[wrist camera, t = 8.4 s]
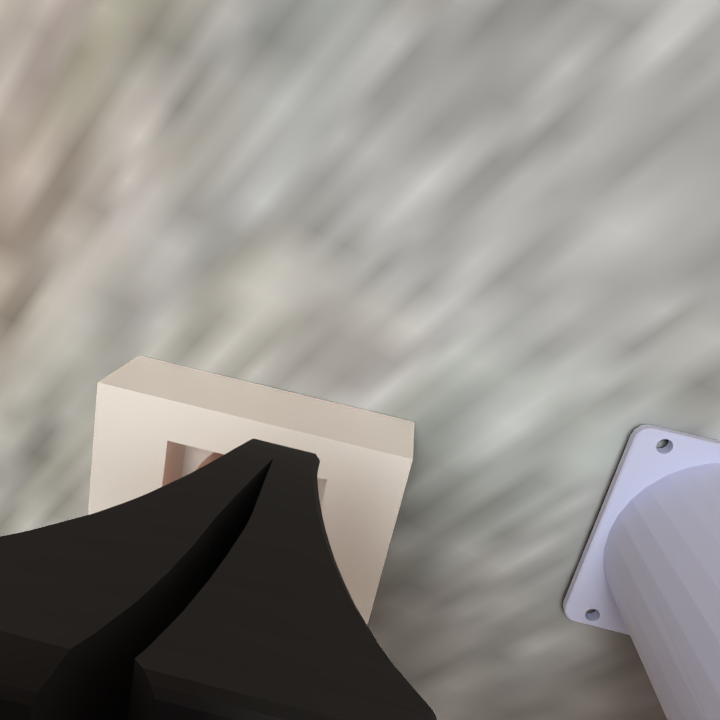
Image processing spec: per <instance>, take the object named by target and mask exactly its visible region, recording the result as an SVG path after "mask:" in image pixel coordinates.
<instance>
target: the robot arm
mask: <svg viewBox="0 0 720 720" xmlns="http://www.w3.org/2000/svg"><path fill="white" fill-rule="evenodd" d="M663 439H668V444H667V445H666V446H665V447H663V448H656V444H657V443H658V442H659V441H660V440H663ZM319 464H320V460H319V458H318V457H317V455H316V454H315V453H311V452H307V451H303V450H299V449H294V448H290V447H286V446H282V445H278V444H274V443H270V442H266V441H262V440H258V439H254V438H253V439H251V440H249V441H247V442H246V443H244V444H242V445H240V446H238V447H237V448H235V449H233V450H231V451H230V452H228V453H226V454H224V455H223V456H221V457H219V458H217V459H216V460H214V461H212V462H210V463H209V464H207V465H205V466H203V467H201V468H199V469H197V470H196V471H194V472H192V473H190V474H188V475H186V476H184V477H182V478H180V479H178V480H175V481H173V482H171V483H169V484H167V485H165V486H163V487H160V488H158V489H156V490H154V491H152V492H150V493H147V494H145V495H143V496H140V497H138V498H135V499H133V500H130V501H127V502H125V503H122V504H119V505H116V506H114V507H111V508H108V509H105V510H102V511H99V512H96V513H93V514H90V515H87V516H83V517H79V518H76V519H72V520H68V521H64V522H61V523H57V524H53V525H49V526H45V527H42V528H38V529H34V530H30V531H26V532H21V533H16V534H11V535H7V536H2V537H0V720H437V719H436V715H435V714H434V712H433V710H432V709H431V708H430V707H429V706H428V705H427V703H426V702H425V701H424V700H423V699H422V698H421V696H420V695H419V694H418V693H417V692H416V691H415V689H414V688H413V687H412V686H411V685H410V684H409V683H408V681H407V680H406V679H405V678H404V677H403V676H402V674H401V673H400V672H399V671H398V670H397V669H396V668H395V666H394V665H393V664H392V662H391V661H390V660H389V658H388V657H387V656H386V654H385V653H384V651H383V650H382V649H381V647H380V646H379V644H378V643H377V641H376V639H375V638H374V636H373V634H372V633H371V631H370V629H369V628H368V626H367V624H366V623H365V621H364V619H363V617H362V616H361V614H360V612H359V611H358V609H357V607H356V606H355V604H354V602H353V600H352V598H351V595H350V593H349V591H348V589H347V587H346V585H345V583H344V581H343V578H342V576H341V573H340V571H339V569H338V566H337V564H336V561H335V558H334V555H333V552H332V549H331V546H330V543H329V540H328V536H327V533H326V529H325V525H324V521H323V517H322V511H321V506H320V500H319V493H318V481H317V473H318V468H319ZM563 608H564V612H565V614H566V616H567V617H568V618H569V619H570V620H572V621H575V622H579V623H583V624H587V625H591V626H595V627H599V628H603V629H607V630H611V631H615V632H619V633H623V634H626V635H630V636H631V638H632V640H633V643H634V645H635V647H636V650H637V652H638V654H639V656H640V659H641V661H642V663H643V666H644V668H645V670H646V672H647V675H648V677H649V679H650V682H651V684H652V686H653V688H654V691H655V693H656V695H657V698H658V700H659V702H660V704H661V707H662V709H663V711H664V714H665V716H666V718H667V720H720V441H717V440H713V439H708V438H704V437H700V436H696V435H692V434H687V433H683V432H679V431H675V430H671V429H667V428H662V427H658V426H654V425H642V426H639V427H637V428H636V429H634V431H633V432H632V434H631V435H630V438H629V440H628V443H627V445H626V448H625V450H624V453H623V455H622V458H621V460H620V463H619V465H618V468H617V470H616V473H615V475H614V477H613V480H612V482H611V485H610V487H609V490H608V492H607V495H606V497H605V500H604V502H603V505H602V507H601V510H600V512H599V515H598V517H597V520H596V522H595V524H594V527H593V529H592V532H591V534H590V537H589V539H588V542H587V544H586V547H585V549H584V552H583V554H582V557H581V559H580V562H579V564H578V567H577V569H576V571H575V574H574V576H573V579H572V581H571V584H570V586H569V589H568V591H567V594H566V596H565V599H564V601H563ZM590 609H596V611H595V612H593V613H586V612H587V610H590Z"/></svg>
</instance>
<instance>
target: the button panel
mask: <svg viewBox="0 0 720 720" xmlns="http://www.w3.org/2000/svg"><path fill="white" fill-rule="evenodd" d="M414 425H415V422H412V421H408V420H404V419H400V418H396V417H392V416H388V415H383V414H379V413H375V412H371V411H367V410H363V409H359V408H355V407H350V406H346V405H342V404H338V403H334V402H330V401H326V400H322V399H317V398H313V397H309V396H305V395H301V394H297V393H293V392H288V391H284V390H280V389H276V388H272V387H268V386H264V385H260V384H255V383H251V382H247V381H243V380H239V379H235V378H231V377H227V376H222V375H218V374H214V373H210V372H206V371H202V370H198V369H193V368H189V367H185V366H181V365H177V364H173V363H169V362H165V361H160V360H156V359H152V358H148V357H144V356H140V355H139V356H138V357H136V358H135V359H133V360H131V361H130V362H128V363H127V364H125V365H124V366H122V367H121V368H119V369H118V370H116V371H114V372H113V373H111V374H110V375H108V376H107V377H105V378H104V379H102V380H101V381H99V382H98V385H97V399H96V413H95V426H94V440H93V453H92V467H91V481H90V494H89V508H88V515H90V514H93V513H96V512H99V511H102V510H105V509H108V508H111V507H114V506H116V505H119V504H122V503H125V502H127V501H130V500H133V499H135V498H138V497H140V496H143V495H145V494H147V493H150V492H152V491H154V490H156V489H158V488H160V487H163V486H165V485H167V484H169V483H171V482H173V481H175V480H178V479H180V478H182V477H184V476H186V475H188V474H190V473H192V472H194V471H195V470H196V469H197V468H198V466H199V465H200V464H201V463H202V461H204V460H205V459H206V458H207V457H208V456H209V455H211V454H212V453H214V452H216V453H220V454H226V453H228V452H230V451H231V450H233V449H235V448H237V447H238V446H240V445H242V444H244V443H246V442H247V441H249V440H251V439H253V438H254V439H258V440H262V441H266V442H270V443H274V444H278V445H282V446H286V447H290V448H294V449H299V450H303V451H307V452H311V453H315V454H316V455H317V457H318V458H319V460H320V464H319V468H318V473H317V481H318V493H319V500H320V506H321V511H322V517H323V521H324V525H325V529H326V533H327V536H328V540H329V543H330V546H331V549H332V552H333V555H334V558H335V561H336V564H337V566H338V569H339V571H340V573H341V576H342V578H343V581H344V583H345V585H346V587H347V589H348V591H349V593H350V595H351V598H352V600H353V602H354V604H355V606H356V607H357V609H358V611H359V612H360V614H361V616H362V617H363V619H364V621H365V623H366V624H367V625H368V621H369V618H370V614H371V610H372V607H373V603H374V600H375V596H376V592H377V589H378V585H379V581H380V578H381V574H382V570H383V567H384V563H385V559H386V556H387V552H388V548H389V545H390V541H391V538H392V534H393V530H394V527H395V523H396V519H397V516H398V512H399V508H400V505H401V501H402V497H403V494H404V490H405V486H406V483H407V479H408V476H409V472H410V468H411V465H412V461H413V447H414Z"/></svg>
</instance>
